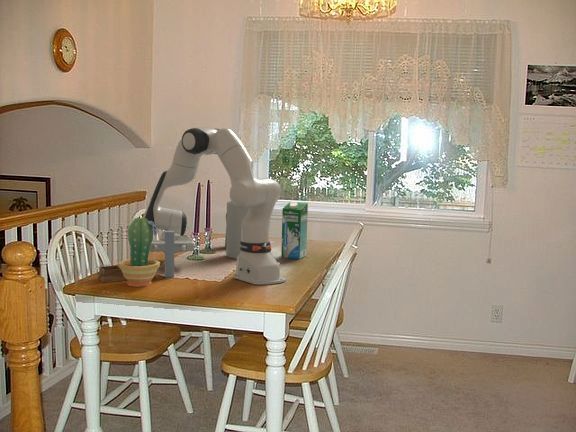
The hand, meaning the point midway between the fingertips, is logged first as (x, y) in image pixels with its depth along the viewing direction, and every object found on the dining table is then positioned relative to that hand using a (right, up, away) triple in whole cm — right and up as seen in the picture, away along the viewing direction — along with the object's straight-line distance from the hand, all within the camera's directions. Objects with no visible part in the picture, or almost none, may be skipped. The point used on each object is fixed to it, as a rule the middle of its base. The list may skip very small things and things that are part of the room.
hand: (169, 249), depth 268 cm
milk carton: (+51, -6, +40) cm, 65 cm away
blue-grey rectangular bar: (+1, -10, -6) cm, 12 cm away
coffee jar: (+21, -2, +60) cm, 63 cm away
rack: (-15, -10, -10) cm, 21 cm away
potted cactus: (-8, -12, -19) cm, 24 cm away
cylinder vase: (+26, -5, +37) cm, 45 cm away
